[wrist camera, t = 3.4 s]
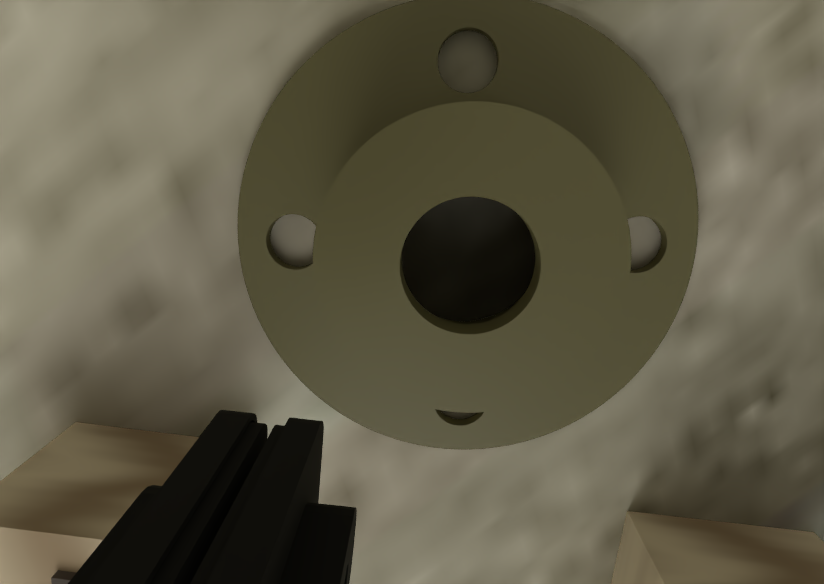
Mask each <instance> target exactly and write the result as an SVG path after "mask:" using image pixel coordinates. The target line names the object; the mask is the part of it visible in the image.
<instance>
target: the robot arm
mask: <svg viewBox="0 0 824 584" xmlns="http://www.w3.org/2000/svg"><path fill="white" fill-rule="evenodd" d="M323 430H324V426H323V421H315V420H307V419H298V418H289V419H288V421H287V423H286V425H285V426H281V425H275V426H274V428H273V429H272V431H271V433H270V435H269V437H268V439H267V425H266V424H263V423H257V417H256V415H255V414H253V413H244V412H235V411H226V410H220V411H219V412H218V413H217V414H216V416H215V417H214V418H213V420H212V421H211V422H210V424H209V425H208V426H207V427H206V429H205V430H204V431H203V433H202V434H201V435H200V437H199V438H198V439H197V441H196V442H195V443H194V445H193V446H192V447H191V448H190V450H189V451H188V452H187V454H186V455H185V456H184V458H183V459H182V460H181V462H180V463H179V464H178V466H177V467H176V468H175V469H174V471H173V472H172V473H171V475H170V476H169V477H168V479H167V480H166V481H165V483H164V484H163V485H162V486H158V485H151V486H148V487H146V488H145V489H144V490H143V491H142V492H141V493H140V495H139V496H138V497H137V498H136V500H135V501H134V502H133V503H132V504H131V506H130V507H129V508H128V509H127V511H126V512H125V513H124V514H123V516H122V517H121V518H120V519H119V521H118V522H117V523H116V524H115V526H114V527H113V528H112V529H111V531H110V532H109V533H108V534H107V536H106V537H105V538H104V539H103V540H102V542H101V543H100V544H99V545H98V547H97V548H96V549H95V550H94V552H93V553H92V554H91V555H90V557H89V558H88V559H87V560H86V562H85V563H84V564H83V565H82V567H81V568H80V569H79V570H78V572H77V573H76V574H75V575H74V576H73V578H72V579H71V580H70V581H69V583H68V584H349V580H350V573H351V565H352V556H353V547H354V536H355V526H356V508H354V507H345V506H336V505H327V504H318V499H319V485H320V472H321V459H322V445H323Z"/></svg>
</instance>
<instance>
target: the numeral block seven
mask: <svg viewBox="0 0 824 584" xmlns="http://www.w3.org/2000/svg"><path fill="white" fill-rule="evenodd" d="M611 584H824V542H823V541H822V540H821V539H820V538H819V537H818V536H817V535H816V534H815V533H814V532H808V531H799V530H790V529H781V528H772V527H764V526H755V525H746V524H737V523H728V522H720V521H711V520H702V519H693V518H684V517H676V516H667V515H658V514H649V513H640V512H632V511H627V514H626V519H625V523H624V528H623V532H622V536H621V541H620V545H619V550H618V554H617V559H616V563H615V568H614V572H613V576H612V581H611Z"/></svg>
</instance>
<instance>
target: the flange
mask: <svg viewBox="0 0 824 584" xmlns="http://www.w3.org/2000/svg"><path fill="white" fill-rule="evenodd" d="M468 30H470V31H476V32H479V33H481V34H483V35H484V36H486V37H487V38H488V39H489V40H490V41H491V43H492V44H493V46H494V48H495V50H496V54H497V69H496V73H495V75H494V77H493V79H492V81H491V82H490V83H489V84H488V85H487V86H486V87H485V88H483V89H481V90H479V91H477V92H473V93H462V92H458V91H455V90H453V89H452V88H450V87H449V86H448V85H447V84H446V83H445V82H444V81H443V79H442V77H441V76H440V73H439V70H438V64H437V60H438V54H439V51H440V49H441V47H442V45H443V44H444V42H445V41H446V40H447V39H448V38H449V37H450V36H452V35H454V34H455V33H458V32H461V31H468ZM471 196H473V197H483V198H488V199H492V200H495V201H498V202H500V203H502V204H504V205H506V206H508V207H509V208H511V209H513V210H514V211H515V212H516V213H517V214H518V215H519V216H520V217H521V218H522V220H523V221H524V222H525V224H526V225H527V227H528V229H529V231H530V234H531V236H532V239H533V243H534V248H535V268H534V272H533V277H532V279H531V282H530V284H529V286H528V288H527V290H526V292H525V293H524V295H523V296H522V297H521V298H520V299H519V300H518V301H516V302H515V303H514V304H513V305H511V306H510V307H508V308H507V309H505V310H503V311H501V312H499V313H497V314H495V315H492V316H489V317H486V318H482V319H478V320H470V321H455V320H447V319H443V318H439V317H436V316H435V315H433V314H431V313H430V312H428V311H427V310H426V309H425V308H423V307H422V306H421V305H420V304H419V303H418V302H417V300H416V299H415V298H414V297H413V295H412V293H411V292H410V290H409V288H408V286H407V284H406V281H405V278H404V274H403V269H402V250H403V245H404V242H405V239H406V237H407V235H408V233H409V232H410V230H411V228H412V227H413V226H414V224H415V223H416V222H417V220H419V219H420V218H421V217H422V216H423V215H424V214H425V213H426V212H427V211H429V210H430V209H432V208H433V207H435V206H437V205H438V204H441V203H443V202H445V201H448V200H451V199H454V198H460V197H471ZM287 214H298V215H302V216H304V217H306V218H308V219H309V220H311V221H312V222H313V223H314V224H315V225H316V230H315V236H314V244H313V263H311V264H310V265H307V266H302V267H296V266H291V265H288V264H286V263H284V262H283V261H281V260H280V259H279V258H278V257H277V256H276V254H275V253H274V251H273V249H272V246H271V242H270V233H271V229H272V227H273V225H274V224H275V222H276V221H277V220H278V219H279V218H280V217H282V216H283V215H287ZM636 216H645V217H648V218H650V219H651V220H653V221H654V222H655V223H656V225H657V226H658V228H659V230H660V233H661V246H660V249H659V252H658V254H657V255H656V257H655V258H654V259H653V260H652V261H651V262H650V263H649V264H648V265H646V266H644V267H642V268H639V269H635V270H631V239H630V230H629V225H628V220H627V219H628V218H631V217H636ZM697 235H698V200H697V189H696V183H695V177H694V172H693V167H692V163H691V159H690V156H689V152H688V149H687V146H686V143H685V140H684V138H683V135H682V132H681V130H680V128H679V126H678V123H677V121H676V119H675V117H674V115H673V113H672V111H671V109H670V108H669V106H668V104H667V103H666V101H665V99H664V98H663V96H662V94H661V93H660V92H659V90H658V89H657V87H656V86H655V84H654V83H653V82H652V81H651V79H650V78H649V77H648V76H647V74H646V73H645V72H644V71H643V70H642V69H641V67H640V66H639V65H638V64H637V63H636V62H635V61H634V60H633V59H632V58H631V57H630V56H629V55H628V54H627V53H626V52H625V51H624V50H622V49H621V48H620V47H619V46H618V45H616V44H615V43H614V42H613V41H612V40H610V39H609V38H607V37H606V36H605V35H603V34H602V33H600V32H599V31H597V30H596V29H594V28H593V27H591V26H589V25H588V24H586V23H584V22H582V21H580V20H579V19H577V18H575V17H573V16H571V15H569V14H566V13H564V12H562V11H560V10H557V9H554V8H552V7H549V6H546V5H543V4H540V3H537V2H533V1H530V0H414V1H410V2H407V3H403V4H400V5H397V6H394V7H391V8H389V9H386V10H384V11H381V12H379V13H377V14H374V15H372V16H370V17H368V18H366V19H364V20H362V21H360V22H358V23H357V24H355V25H353V26H351V27H350V28H348V29H347V30H345V31H343V32H342V33H340V34H339V35H338V36H336V37H335V38H333V39H332V40H331V41H329V42H328V43H327V44H325V45H324V46H323V47H322V48H321V49H319V50H318V51H317V52H316V53H315V54H314V55H313V56H312V57H311V58H309V59H308V60H307V61H306V62H305V63H304V64H303V65H302V67H301V68H300V69H299V70H298V71H297V72H296V73H295V74H294V75H293V77H292V78H291V79H290V80H289V81H288V83H287V84H286V85H285V86H284V88H283V89H282V91H281V92H280V93H279V95H278V96H277V98H276V99H275V101H274V102H273V104H272V106H271V107H270V109H269V111H268V112H267V114H266V116H265V118H264V120H263V122H262V124H261V126H260V128H259V130H258V132H257V134H256V137H255V139H254V142H253V144H252V147H251V150H250V153H249V156H248V159H247V162H246V166H245V170H244V174H243V179H242V184H241V190H240V197H239V207H238V244H239V254H240V260H241V266H242V271H243V276H244V280H245V284H246V287H247V291H248V294H249V297H250V300H251V303H252V305H253V308H254V310H255V313H256V315H257V317H258V320H259V322H260V324H261V326H262V328H263V330H264V331H265V333H266V335H267V337H268V338H269V340H270V342H271V343H272V345H273V347H274V348H275V350H276V351H277V353H278V354H279V355H280V357H281V358H282V359H283V361H284V362H285V363H286V365H287V366H288V367H289V368H290V370H291V371H292V372H293V373H294V374H295V375H296V376H297V377H298V378H299V380H300V381H301V382H302V383H303V384H304V385H305V386H307V387H308V388H309V389H310V390H311V391H312V392H313V393H314V394H315V395H316V396H318V397H319V398H320V399H321V400H323V401H324V402H325V403H326V404H328V405H329V406H330V407H332V408H333V409H335V410H336V411H338V412H339V413H341V414H342V415H344V416H346V417H347V418H349V419H351V420H352V421H354V422H356V423H358V424H360V425H362V426H364V427H366V428H368V429H371V430H373V431H375V432H378V433H380V434H383V435H385V436H388V437H391V438H394V439H397V440H401V441H404V442H408V443H412V444H417V445H422V446H428V447H434V448H444V449H485V448H493V447H500V446H506V445H512V444H516V443H520V442H524V441H528V440H531V439H535V438H538V437H540V436H543V435H546V434H549V433H551V432H554V431H556V430H559V429H561V428H563V427H565V426H567V425H569V424H571V423H573V422H575V421H577V420H579V419H580V418H582V417H584V416H585V415H587V414H589V413H590V412H592V411H593V410H595V409H596V408H598V407H599V406H601V405H602V404H603V403H605V402H606V401H607V400H609V399H610V398H611V397H612V396H614V395H615V394H616V393H617V392H618V391H619V390H621V389H622V388H623V387H624V386H625V385H626V384H627V383H628V382H629V381H630V380H631V379H632V378H633V377H634V376H635V375H636V374H637V373H638V372H639V371H640V369H641V368H642V367H643V366H644V365H645V364H646V362H647V361H648V360H649V359H650V357H651V356H652V355H653V353H654V352H655V350H656V349H657V348H658V346H659V345H660V343H661V342H662V340H663V338H664V337H665V335H666V334H667V332H668V330H669V328H670V326H671V325H672V323H673V321H674V319H675V317H676V315H677V312H678V310H679V308H680V305H681V303H682V301H683V298H684V295H685V292H686V289H687V287H688V283H689V280H690V276H691V273H692V268H693V263H694V259H695V252H696V246H697ZM440 410H443V411H449V412H460V413H476V414H475V415H473V416H471V417H469V418H465V419H454V418H450V417H448V416H446V415H444V414H443V413H442V412H441V411H440Z"/></svg>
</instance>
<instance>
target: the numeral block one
mask: <svg viewBox="0 0 824 584" xmlns="http://www.w3.org/2000/svg"><path fill="white" fill-rule="evenodd" d="M198 438H199V437H194V436H185V435H177V434H169V433H161V432H153V431H144V430H136V429H128V428H120V427H112V426H104V425H95V424H87V423H79V422H75V423H74V424H73V425H72V426H70V427H69V428H68V429H66V430H65V431H64V432H63V433H61V434H60V435H59V436H57V437H56V438H55V439H54V440H52V441H51V442H50V443H49V444H47V445H46V446H45V447H43V448H42V449H41V450H40V451H38V452H37V453H36V454H34V455H33V456H32V457H31V458H29V459H28V460H27V461H26V462H24V463H23V464H22V465H20V466H19V467H18V468H17V469H15V470H14V471H13V472H11V473H10V474H9V475H8V476H6V477H5V478H4V479H3V480H1V481H0V584H68V583H69V581H70V580H71V579H72V578H73V576H74V575H75V574H76V573H77V572H78V570H79V569H80V568H81V567H82V565H83V564H84V563H85V562H86V560H87V559H88V558H89V557H90V555H91V554H92V553H93V552H94V550H95V549H96V548H97V547H98V545H99V544H100V543H101V542H102V540H103V539H104V538H105V537H106V536H107V534H108V533H109V532H110V531H111V529H112V528H113V527H114V526H115V524H116V523H117V522H118V521H119V519H120V518H121V517H122V516H123V514H124V513H125V512H126V511H127V509H128V508H129V507H130V506H131V504H132V503H133V502H134V501H135V500H136V498H137V497H138V496H139V495H140V493H141V492H142V491H143V490H144V489H145V488H146V487H148V486H151V485H158V486H162V485H163V484H164V483H165V481H166V480H167V479H168V477H169V476H170V475H171V473H172V472H173V471H174V469H175V468H176V467H177V466H178V464H179V463H180V462H181V460H182V459H183V458H184V456H185V455H186V454H187V452H188V451H189V450H190V448H191V447H192V446H193V445H194V443H195V442H196V441H197V439H198Z"/></svg>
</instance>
